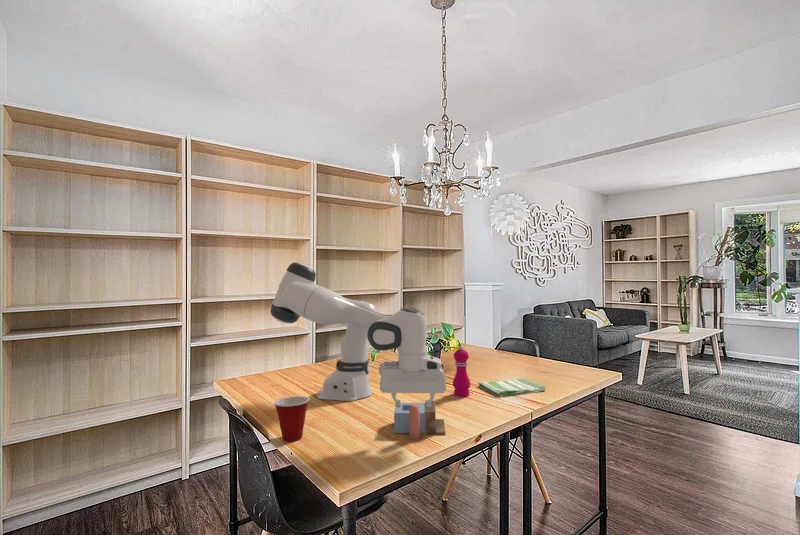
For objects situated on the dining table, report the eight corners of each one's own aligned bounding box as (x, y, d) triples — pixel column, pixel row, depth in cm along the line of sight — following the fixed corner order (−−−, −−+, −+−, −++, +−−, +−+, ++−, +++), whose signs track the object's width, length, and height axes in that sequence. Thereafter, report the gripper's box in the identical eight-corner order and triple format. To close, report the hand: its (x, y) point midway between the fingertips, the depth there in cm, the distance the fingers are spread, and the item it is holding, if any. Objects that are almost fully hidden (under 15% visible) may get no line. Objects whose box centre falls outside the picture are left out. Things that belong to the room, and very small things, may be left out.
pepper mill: (470, 397, 165) (469, 347, 165) (452, 397, 167) (451, 347, 167) (471, 392, 172) (470, 344, 172) (453, 391, 174) (452, 343, 174)
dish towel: (547, 392, 173) (547, 385, 173) (499, 399, 165) (499, 392, 165) (521, 381, 190) (521, 375, 190) (476, 387, 182) (476, 380, 182)
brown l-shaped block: (426, 434, 130) (425, 412, 130) (426, 421, 141) (425, 400, 141) (445, 434, 130) (445, 412, 130) (443, 421, 141) (443, 400, 141)
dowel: (409, 440, 126) (408, 407, 126) (409, 436, 129) (409, 404, 129) (419, 440, 126) (419, 407, 126) (419, 436, 129) (419, 404, 129)
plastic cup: (306, 428, 136) (306, 392, 136) (313, 441, 126) (312, 401, 126) (272, 434, 132) (271, 396, 132) (276, 447, 122) (275, 407, 122)
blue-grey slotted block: (394, 432, 131) (394, 413, 131) (396, 421, 141) (396, 402, 141) (426, 433, 131) (425, 413, 131) (426, 421, 141) (425, 402, 141)
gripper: (377, 363, 125) (378, 409, 125) (446, 364, 123) (446, 410, 123) (380, 359, 131) (380, 403, 131) (445, 359, 130) (445, 403, 130)
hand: (413, 406), depth 127 cm, fingers open, 8 cm apart
